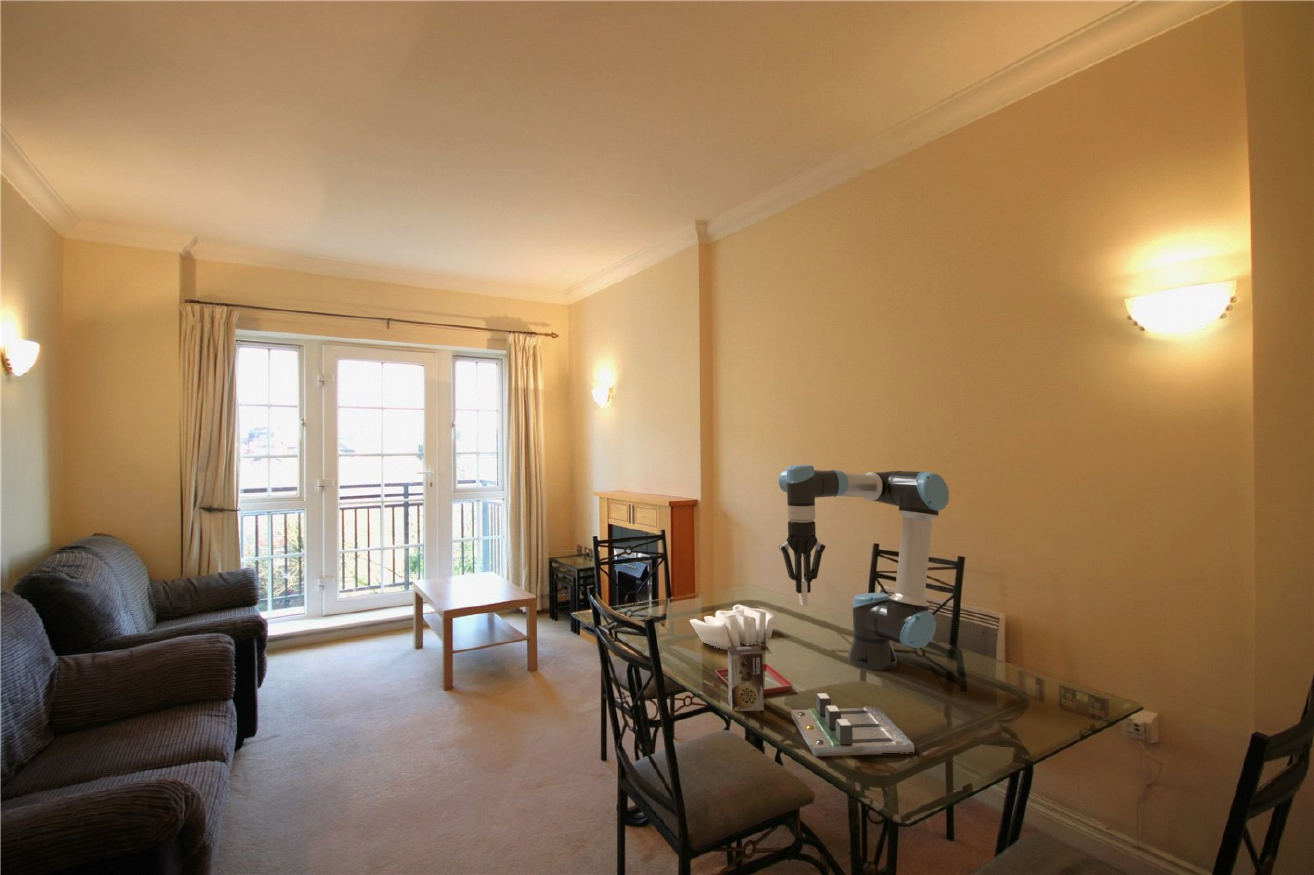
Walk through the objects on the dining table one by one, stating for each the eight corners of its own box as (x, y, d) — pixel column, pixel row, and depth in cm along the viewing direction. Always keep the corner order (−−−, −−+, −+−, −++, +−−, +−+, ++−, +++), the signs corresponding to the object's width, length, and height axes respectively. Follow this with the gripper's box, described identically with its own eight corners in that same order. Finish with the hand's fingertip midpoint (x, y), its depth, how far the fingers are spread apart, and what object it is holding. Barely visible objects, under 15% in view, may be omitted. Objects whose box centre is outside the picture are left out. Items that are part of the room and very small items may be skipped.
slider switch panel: (878, 714, 160) (878, 705, 160) (914, 752, 140) (914, 741, 140) (791, 717, 159) (791, 707, 159) (814, 756, 139) (814, 745, 139)
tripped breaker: (836, 722, 151) (836, 705, 151) (841, 728, 148) (840, 710, 148) (825, 723, 151) (825, 705, 151) (829, 728, 148) (829, 711, 148)
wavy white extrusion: (712, 655, 207) (712, 624, 208) (686, 641, 222) (685, 613, 222) (786, 637, 225) (786, 609, 226) (757, 626, 240) (757, 600, 240)
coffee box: (759, 701, 169) (758, 645, 169) (764, 712, 163) (763, 653, 163) (727, 702, 169) (727, 646, 169) (731, 712, 162) (730, 653, 163)
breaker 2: (847, 737, 144) (847, 718, 144) (852, 743, 141) (852, 724, 141) (835, 737, 144) (835, 719, 144) (840, 743, 141) (840, 725, 141)
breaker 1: (827, 709, 159) (827, 693, 159) (831, 714, 156) (830, 697, 156) (816, 710, 159) (816, 693, 159) (819, 715, 156) (819, 698, 156)
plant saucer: (737, 703, 169) (737, 692, 169) (714, 680, 186) (714, 669, 186) (794, 696, 174) (794, 684, 174) (766, 673, 191) (766, 663, 191)
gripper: (819, 517, 170) (821, 599, 170) (774, 519, 169) (776, 601, 169) (829, 521, 162) (831, 607, 162) (782, 522, 161) (784, 609, 161)
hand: (803, 604), depth 166 cm, fingers closed
